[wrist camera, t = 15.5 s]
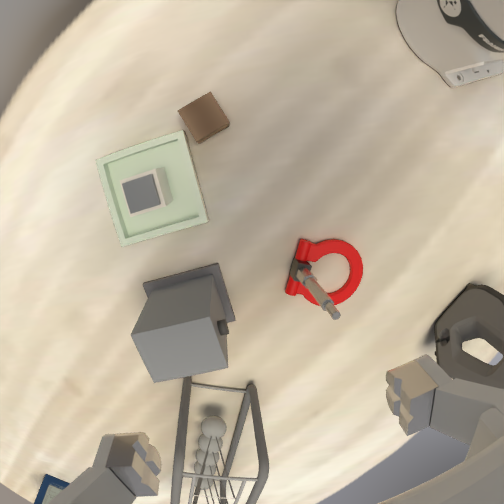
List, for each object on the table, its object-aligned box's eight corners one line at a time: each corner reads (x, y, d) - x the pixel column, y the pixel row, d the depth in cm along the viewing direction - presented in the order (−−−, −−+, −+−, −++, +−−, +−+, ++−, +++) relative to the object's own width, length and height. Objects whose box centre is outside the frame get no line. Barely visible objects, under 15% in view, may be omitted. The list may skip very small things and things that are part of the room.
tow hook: (367, 245, 42) (299, 229, 40) (427, 284, 29) (344, 267, 27) (346, 306, 44) (280, 296, 42) (394, 361, 31) (312, 356, 29)
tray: (184, 131, 35) (182, 129, 33) (208, 218, 39) (207, 222, 37) (101, 159, 35) (95, 160, 33) (126, 242, 38) (121, 247, 36)
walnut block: (211, 98, 35) (210, 91, 31) (228, 126, 36) (229, 122, 32) (182, 115, 35) (177, 110, 31) (199, 143, 36) (196, 141, 32)
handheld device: (483, 297, 46) (580, 365, 22) (425, 356, 48) (508, 450, 24) (474, 274, 45) (583, 341, 21) (412, 337, 46) (504, 437, 23)
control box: (218, 262, 40) (217, 304, 29) (235, 318, 42) (240, 372, 31) (143, 282, 40) (117, 328, 28) (164, 335, 42) (149, 391, 31)
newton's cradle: (224, 483, 53) (229, 555, 36) (173, 478, 52) (168, 550, 35) (255, 378, 46) (272, 472, 29) (185, 369, 44) (173, 464, 27)
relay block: (164, 167, 36) (153, 168, 30) (173, 200, 37) (164, 207, 31) (132, 177, 36) (117, 181, 30) (142, 209, 37) (128, 218, 31)
